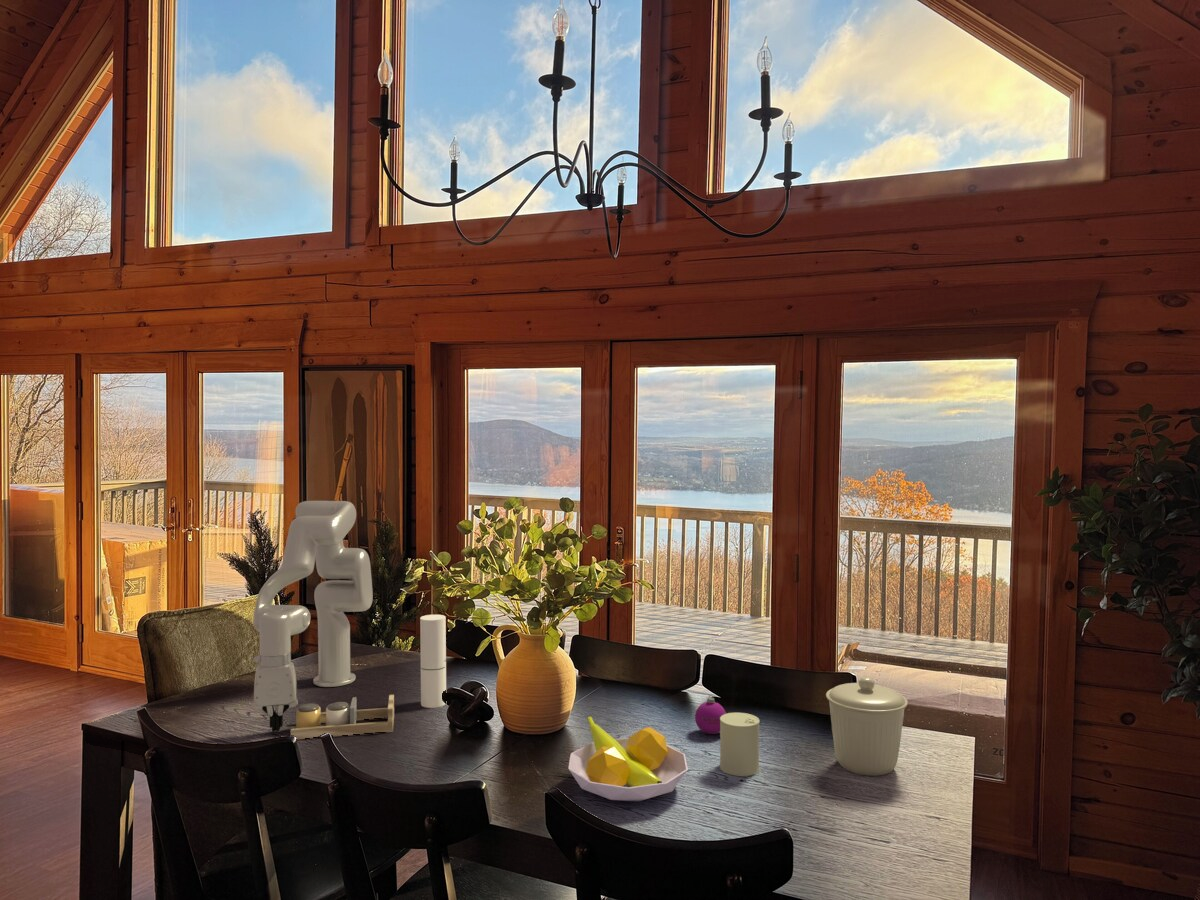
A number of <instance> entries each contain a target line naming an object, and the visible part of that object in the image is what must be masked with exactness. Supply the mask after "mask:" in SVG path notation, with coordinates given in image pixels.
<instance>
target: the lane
mask: <svg viewBox="0 0 1200 900" xmlns="http://www.w3.org/2000/svg"><path fill="white" fill-rule="evenodd" d="M387 704H388V705H387V707H381V708H380V707H377V708H366V709H357V720H356V721H365V720H364V719H369V720H375V719H374V718H382V719H387V720H385V721H373V722H371V721H370V722H362V723H361V722H360V723H356V724H345V725H332V726H326V725H320V726H319V727H306V728H291V729H290V736H291V735H294V736H296V738H297V740H305V738H310V739H314V738H313V737H318V736H320V735H322V734H324V733H330V734H331V735H333V737H332V738H335V737H343V736H342V735H348V736H354V735H353V734H360V735H365V734H364V733H373V734H376V733H375V732H386V733H393V732H394V724H395V723H394V722H395V721H394V720H395V694H389V695H388V703H387ZM384 717H385V718H384ZM387 717H388V718H387ZM320 724H326V711H323V712H322V711H321V718H320Z"/></svg>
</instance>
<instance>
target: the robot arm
mask: <svg viewBox="0 0 1200 900" xmlns="http://www.w3.org/2000/svg"><path fill="white" fill-rule="evenodd" d="M356 520H357V510H356V507H355V505H354V504H353V503H352V502H351V501H348V500H305V501H301V502H299V503H298V504H297V505H296V507H295V518H294V519H293V520H292V521H291V522H290V525H289V529H288V534H287V537H286V543H285V548H284V552H283V557H282V561H281V562H282V563H281V565H280V567H279V568H278V570H276V571H275V572H274V573H273V574H271V576H270V577H269V578H268V579H267V580H266V582H264V584H263V586H262V587H261V588H260V590H259V592H258V594H257V598H256V602H255V606H254V611H253V618H252V619H253V620H252V624H253V627H254V629H255V630H256V632H258V633H259V655H257V656H254V657H253V662H254V663H255V662H256V663H258V665H257V666H256V669H255V674H254V684H253V709H254V710H260V711H263V712H264V713H266V714H267V716H268V717H269V728H271V732H279V731H280V730H281V728H282V727H283V726H284V713H286V711H287V710H288V709H291V708H294V707H296V706H297V707H298V704H299V701H298V697H297V696H298V683H297V674H296V667H295V665H294V662H293V661H292V652H291V651H292V647H291V646H292V645H291V642H292V640H291V638H292V637H291V636H294V635H299V634H301V633H304V632H305V631H306V630H307V629H308V627H309V625H310V623H311V612H310V611H309V609H308V608H307V607H306V606H303V605H298V604H295V605H294V604H272V603H273V601H274V599H275V597H276V596H277V594H278V593H279V592H280V591H281V590H282V589H284V588H286V587H288V585H291V584H293V583H295V582H297V581H301V580H302V579H305V578H307V577H308V576H310V575H311V574H313V573H314V568H315V566H316V571H317V574H318V576H319V577H321V578H322V579H328V580H326V581H322V582H320V583H318V584H317V586H316V587H315V589H314V595H313V596H314V597H313V598H314V604H315V609H316V616H317V638H318V639H317V642H318V643H317V644H318V646H317V649H318V657H317V659H318V663H317V664H318V674H317V676H315V677H314V678H313V679H312V681H313V682H312V683H313V684H314V685H315V686H318V687H323V688H333V687H341V686H345V685H349V684H352V683H353V682H354V681H356V677H357V676H356V674H355V673H353V672H351V624H350V621H349V620H348V617H347V615H346V614H345V612H352V613H353V612H365V611H367V610H369V609H370V608H371V606H372V604H373V600H374V599H373V598H374V597H373V592H374V591H373V579H372V570H371V569H372V567H371V560H370V559H371V558H370V557H369V554H368V552H367V551H366V550H365V549H363V548H359V547H358V548H357V547H345V546H344V539H345V537H346V535H348V534H349V532H350V531H351V529H352V528H353V527H354V525H355V523H356ZM276 706H278V707H277V708H278V710H277V712H276V711H275V710H276V709H275V707H276Z"/></svg>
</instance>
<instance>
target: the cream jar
mask: <svg viewBox="0 0 1200 900" xmlns="http://www.w3.org/2000/svg"><path fill="white" fill-rule="evenodd" d="M350 706H351V704H349V703H348V702H346V701H336V702H332V703H329V704H328V705H327V706H326V708H325V712H326V723H325V726H332V725H345V724H350Z"/></svg>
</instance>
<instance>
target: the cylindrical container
mask: <svg viewBox="0 0 1200 900" xmlns="http://www.w3.org/2000/svg"><path fill="white" fill-rule="evenodd" d="M446 617H447V616H445V615H444V614H426V615H422V616H420V618H419V620H420V621H419V622H420V623H419V624H420V626H419V627H420V628H419V629H420V631H419V632H420V636H419V637H420V638H419V641H420V706H421V707H423V708H428V709H433V708H434V709H435V708H437V709H438V708H441V707H444V706H445V705H446V704H445V703H444V702H443V701H442V693H443V691H445V690H446V691H447V645H446V644H447V641H446V640H447V637H446V635H447V631H446V629H447V628H446V623H447V621H446V620H447V619H446Z"/></svg>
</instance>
